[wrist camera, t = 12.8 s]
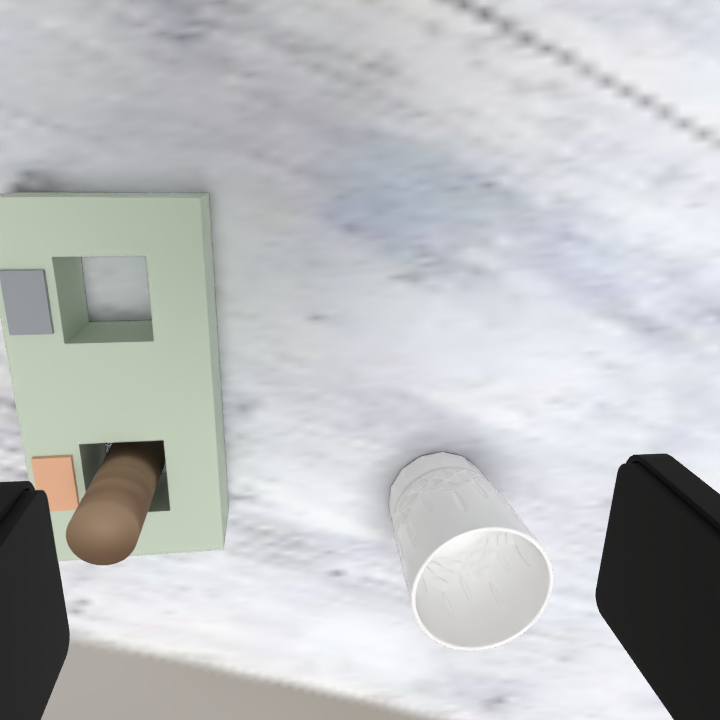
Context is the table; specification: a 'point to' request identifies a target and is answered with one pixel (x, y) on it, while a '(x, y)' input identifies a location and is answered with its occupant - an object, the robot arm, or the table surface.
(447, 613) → the white cup
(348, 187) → the table surface
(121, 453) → the dowel
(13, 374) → the socket block
